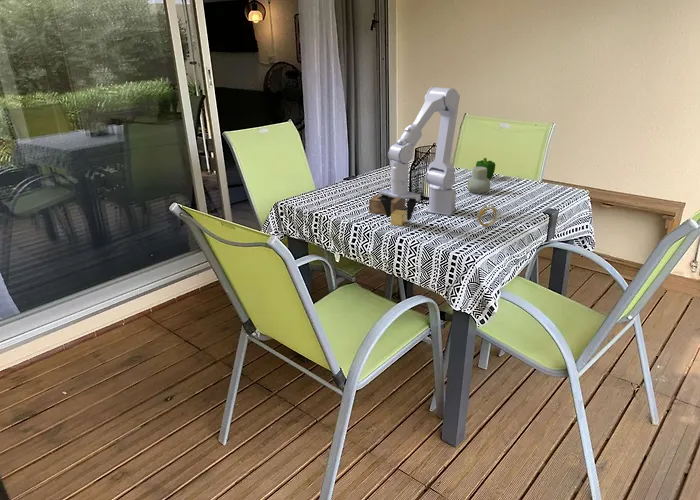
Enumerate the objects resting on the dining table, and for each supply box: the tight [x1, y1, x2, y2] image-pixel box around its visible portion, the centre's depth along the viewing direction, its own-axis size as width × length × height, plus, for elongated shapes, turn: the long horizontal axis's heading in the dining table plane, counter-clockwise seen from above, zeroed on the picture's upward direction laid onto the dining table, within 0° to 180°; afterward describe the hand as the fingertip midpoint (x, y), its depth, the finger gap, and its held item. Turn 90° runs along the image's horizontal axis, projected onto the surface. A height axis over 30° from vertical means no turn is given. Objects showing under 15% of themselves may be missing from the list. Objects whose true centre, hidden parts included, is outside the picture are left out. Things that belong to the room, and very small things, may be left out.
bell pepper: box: [475, 157, 496, 180], centre depth 229 cm, size 8×8×10 cm
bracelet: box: [477, 203, 499, 228], centre depth 173 cm, size 7×3×8 cm, turn 99°
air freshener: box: [467, 166, 491, 194], centre depth 210 cm, size 11×8×10 cm
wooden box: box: [368, 192, 407, 216], centre depth 192 cm, size 10×12×5 cm
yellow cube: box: [390, 209, 408, 227], centre depth 179 cm, size 4×5×4 cm
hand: (398, 217), depth 179 cm, fingers open, 7 cm apart
